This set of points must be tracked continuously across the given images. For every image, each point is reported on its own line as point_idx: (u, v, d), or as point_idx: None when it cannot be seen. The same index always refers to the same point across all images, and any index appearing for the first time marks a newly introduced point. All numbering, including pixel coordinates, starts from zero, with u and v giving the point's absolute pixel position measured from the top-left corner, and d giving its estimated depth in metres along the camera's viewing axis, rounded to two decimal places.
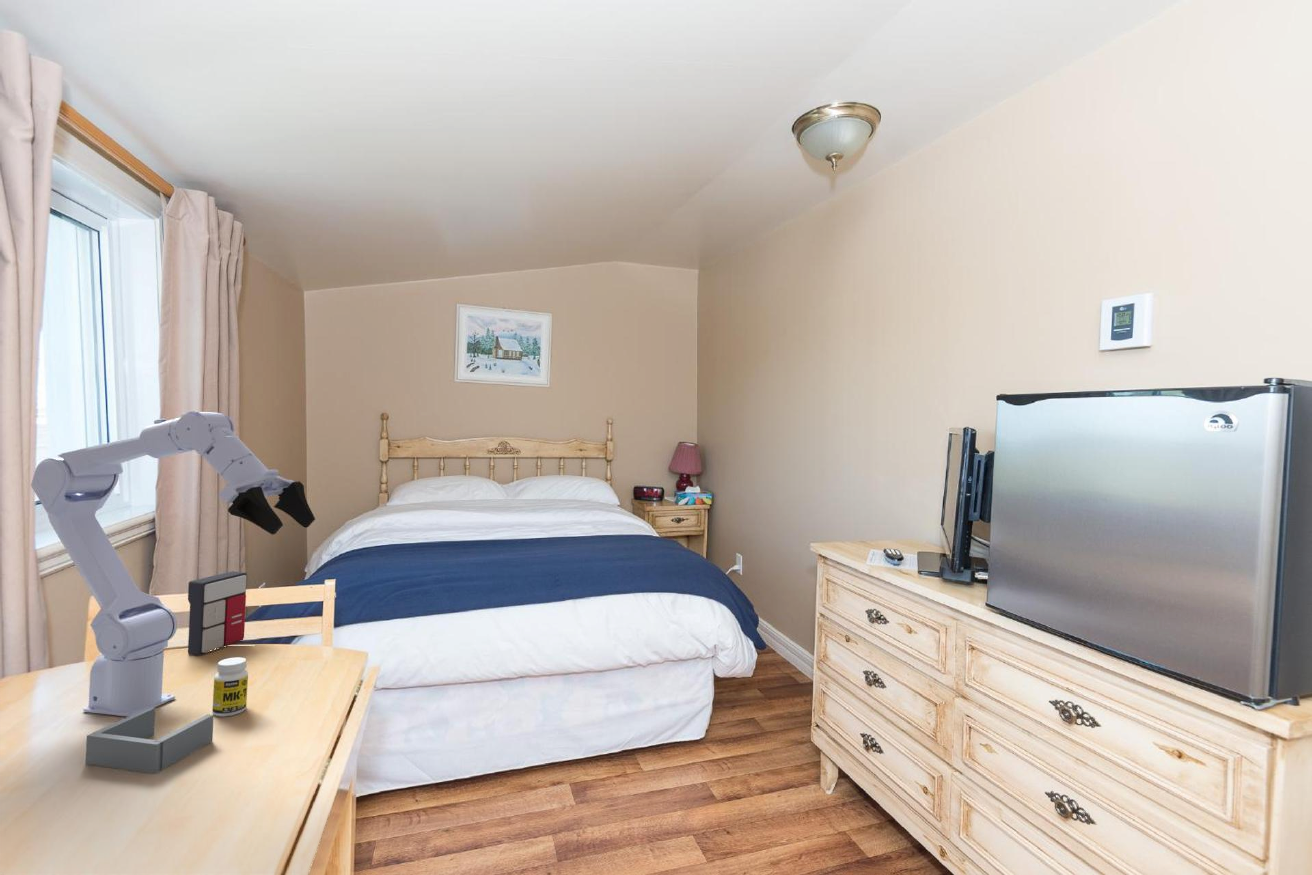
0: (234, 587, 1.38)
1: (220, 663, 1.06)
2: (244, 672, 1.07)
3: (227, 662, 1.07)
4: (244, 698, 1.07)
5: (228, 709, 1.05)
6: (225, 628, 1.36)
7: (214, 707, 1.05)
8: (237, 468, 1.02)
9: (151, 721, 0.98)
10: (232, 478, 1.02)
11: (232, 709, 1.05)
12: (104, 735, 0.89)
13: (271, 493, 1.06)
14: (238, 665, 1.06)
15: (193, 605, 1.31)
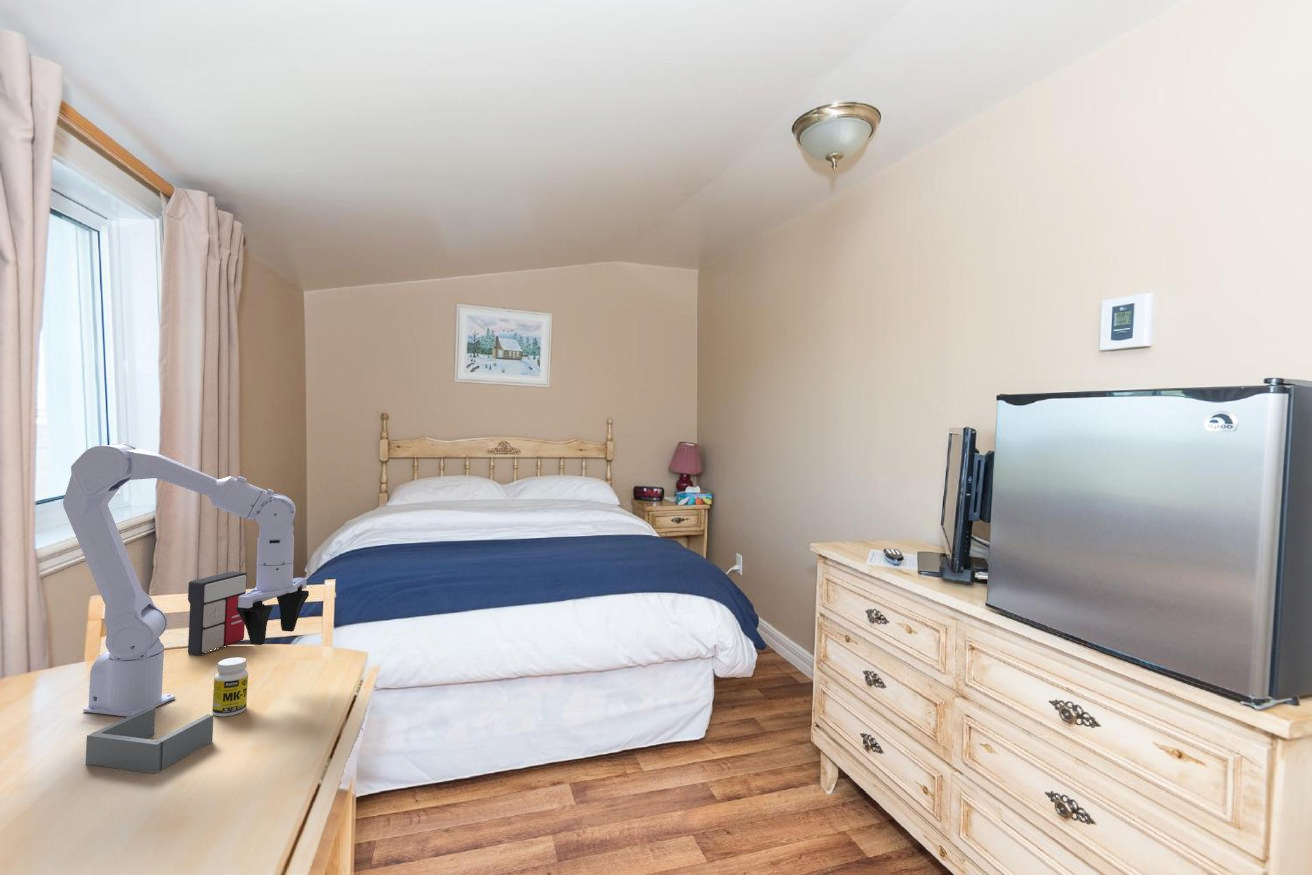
0: (234, 587, 1.38)
1: (220, 663, 1.06)
2: (244, 672, 1.07)
3: (227, 662, 1.07)
4: (244, 698, 1.07)
5: (228, 709, 1.05)
6: (225, 628, 1.36)
7: (214, 707, 1.05)
8: (270, 572, 1.13)
9: (151, 721, 0.98)
10: (261, 575, 1.13)
11: (232, 709, 1.05)
12: (104, 735, 0.89)
13: (280, 595, 1.17)
14: (238, 665, 1.06)
15: (193, 605, 1.31)
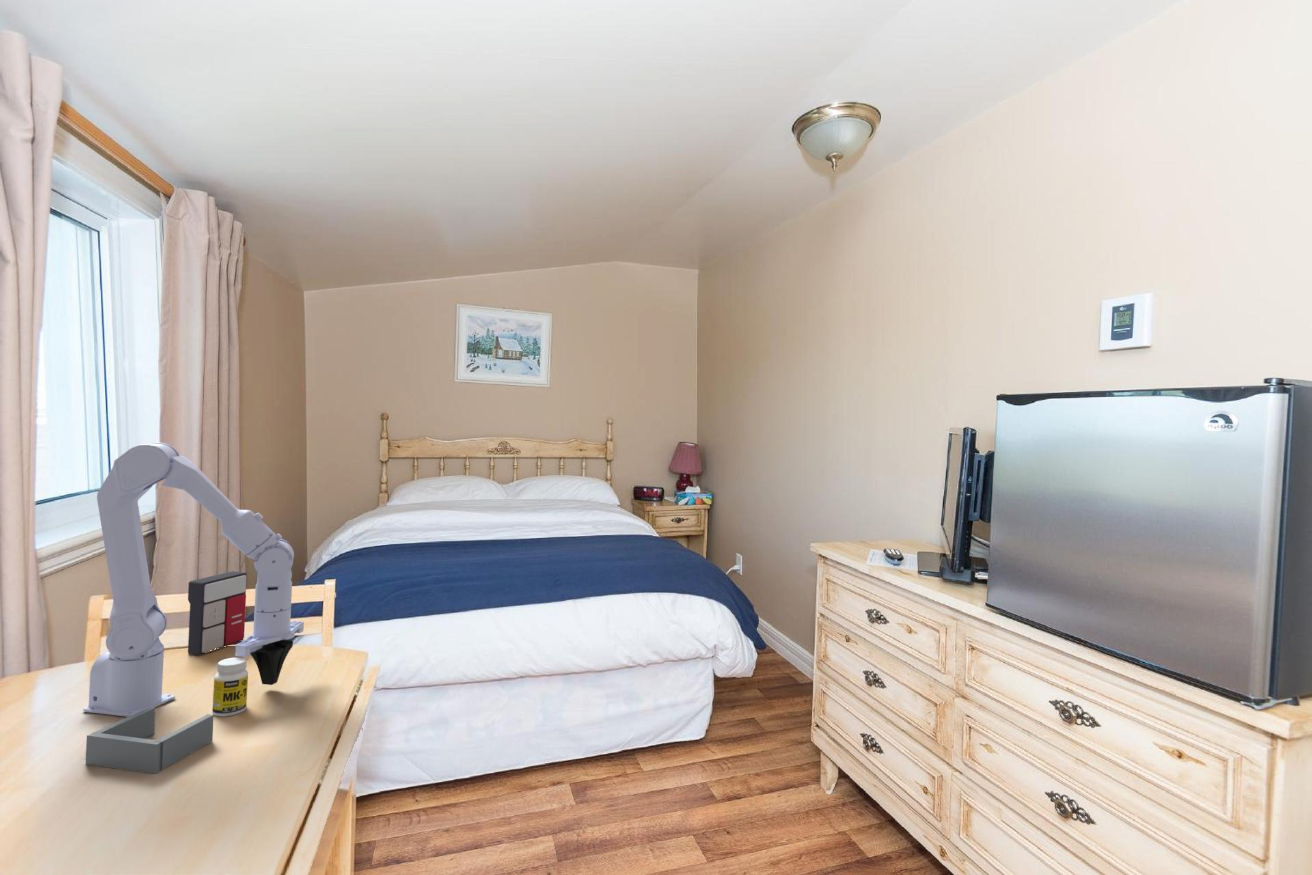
0: (234, 587, 1.38)
1: (220, 663, 1.06)
2: (244, 672, 1.07)
3: (227, 662, 1.07)
4: (244, 698, 1.07)
5: (228, 709, 1.05)
6: (225, 628, 1.36)
7: (214, 707, 1.05)
8: (268, 619, 1.13)
9: (151, 721, 0.98)
10: (258, 622, 1.13)
11: (232, 709, 1.05)
12: (104, 735, 0.89)
13: None
14: (238, 665, 1.06)
15: (193, 605, 1.31)
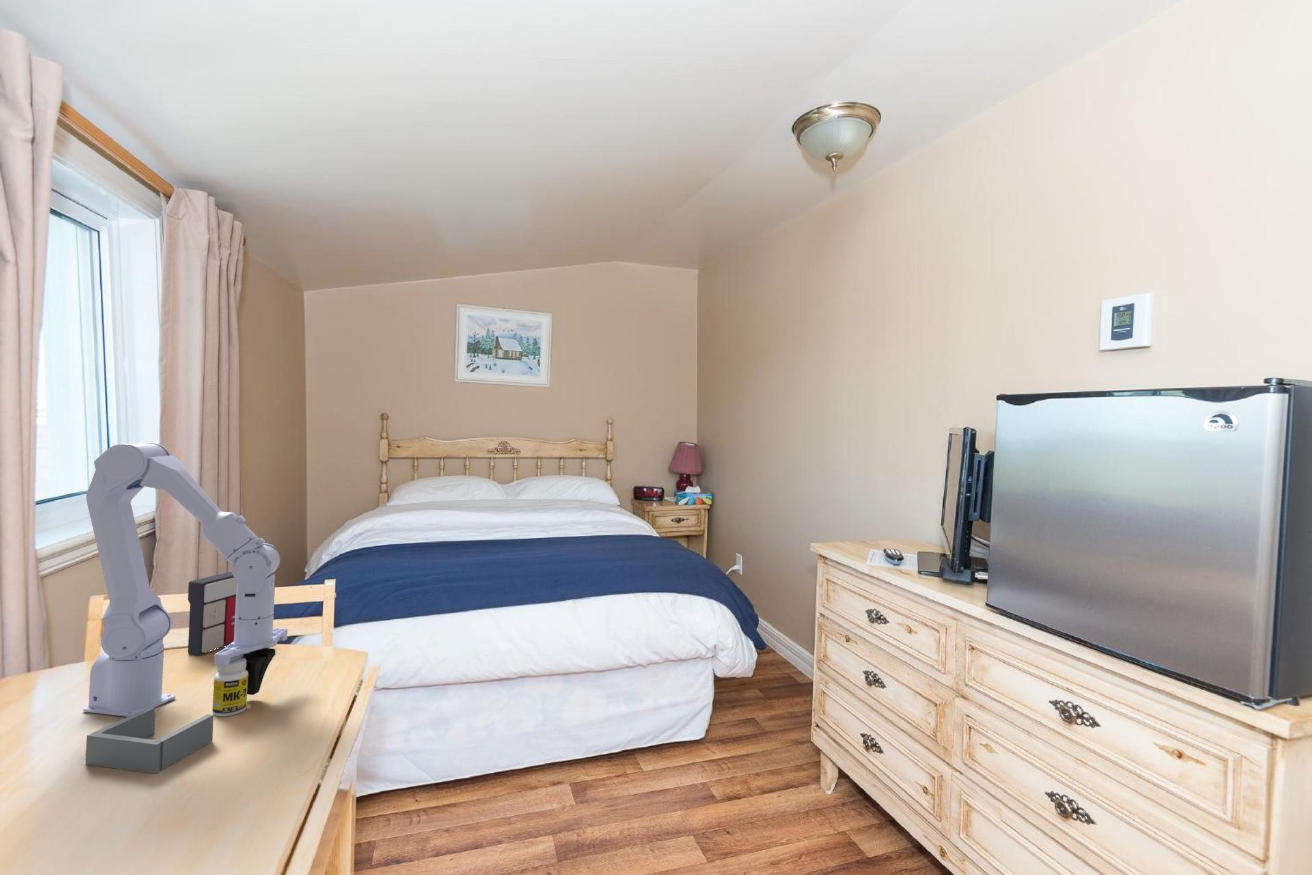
0: (234, 587, 1.38)
1: None
2: (244, 672, 1.07)
3: None
4: (244, 698, 1.07)
5: (228, 709, 1.05)
6: (225, 628, 1.36)
7: (214, 707, 1.05)
8: (249, 627, 1.09)
9: (151, 721, 0.98)
10: (239, 630, 1.09)
11: (232, 709, 1.05)
12: (104, 735, 0.89)
13: (259, 648, 1.13)
14: (238, 665, 1.06)
15: (193, 605, 1.31)
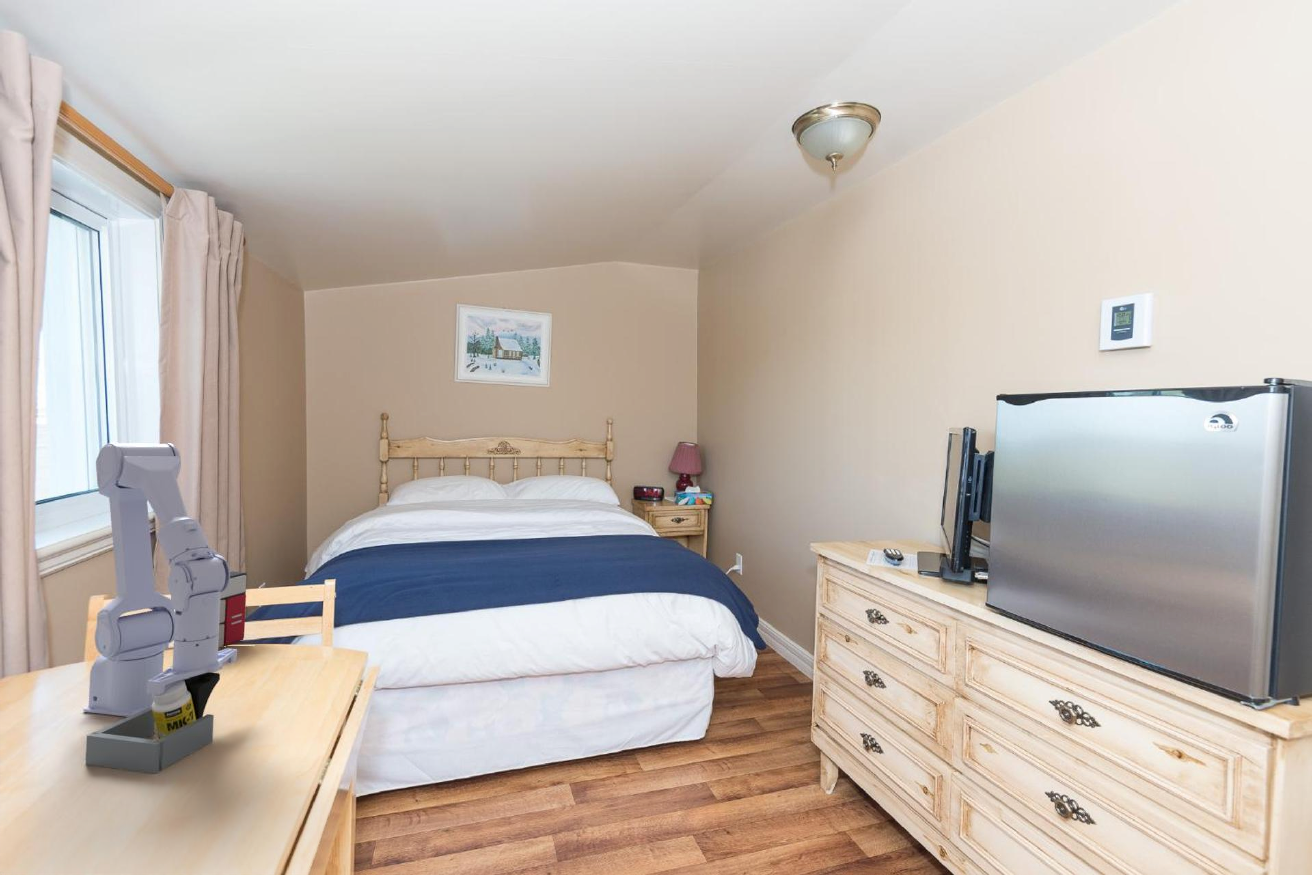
0: (234, 587, 1.38)
1: None
2: (185, 696, 0.96)
3: None
4: (192, 721, 0.97)
5: None
6: (225, 628, 1.36)
7: (159, 736, 0.95)
8: (189, 649, 0.97)
9: (151, 721, 0.98)
10: (178, 653, 0.97)
11: None
12: (104, 735, 0.89)
13: None
14: (176, 693, 0.94)
15: None
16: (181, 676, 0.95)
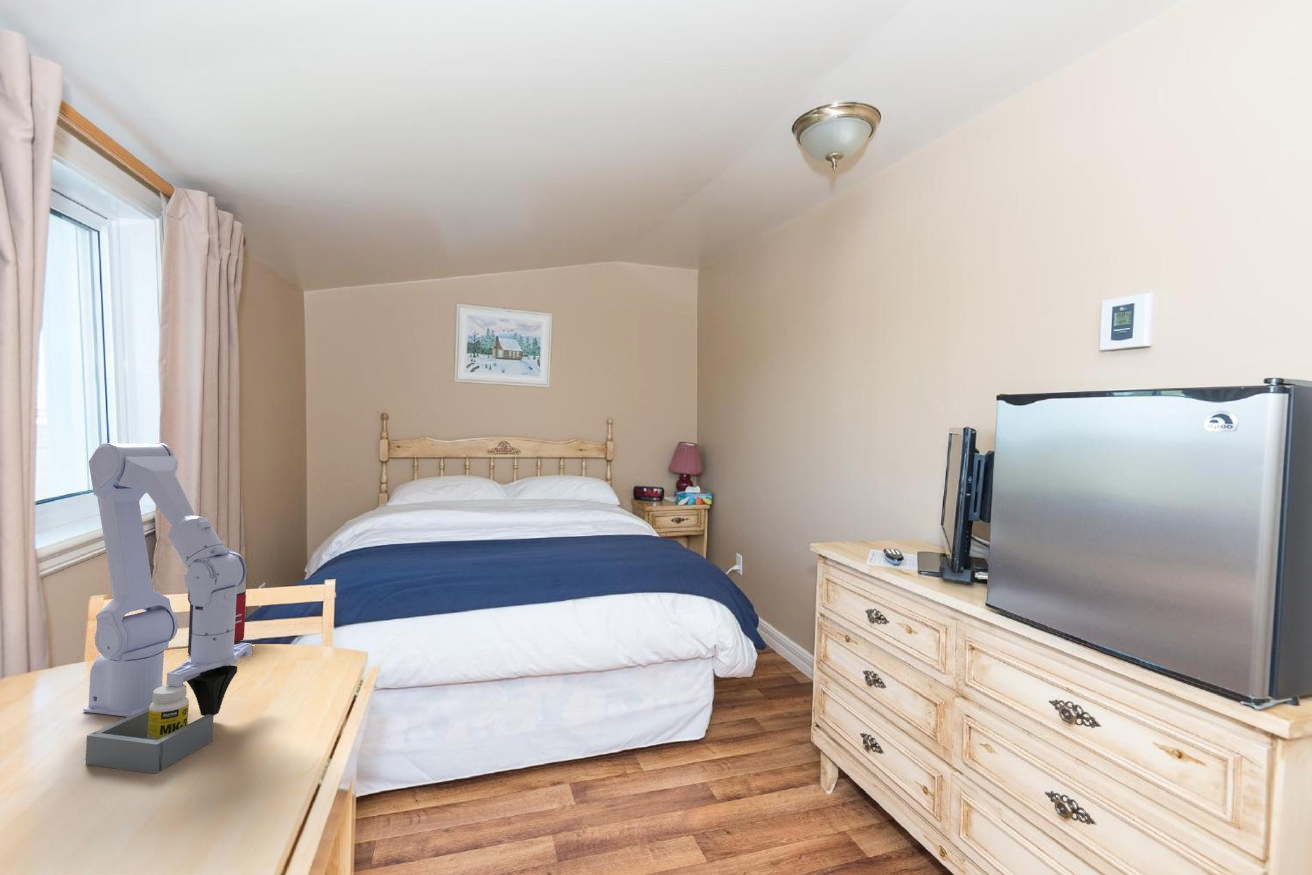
0: None
1: (156, 691, 0.94)
2: (184, 700, 0.96)
3: (164, 689, 0.95)
4: None
5: None
6: None
7: None
8: (206, 643, 1.00)
9: None
10: (196, 646, 1.00)
11: None
12: (104, 735, 0.89)
13: None
14: (178, 693, 0.94)
15: None
16: (199, 669, 0.99)
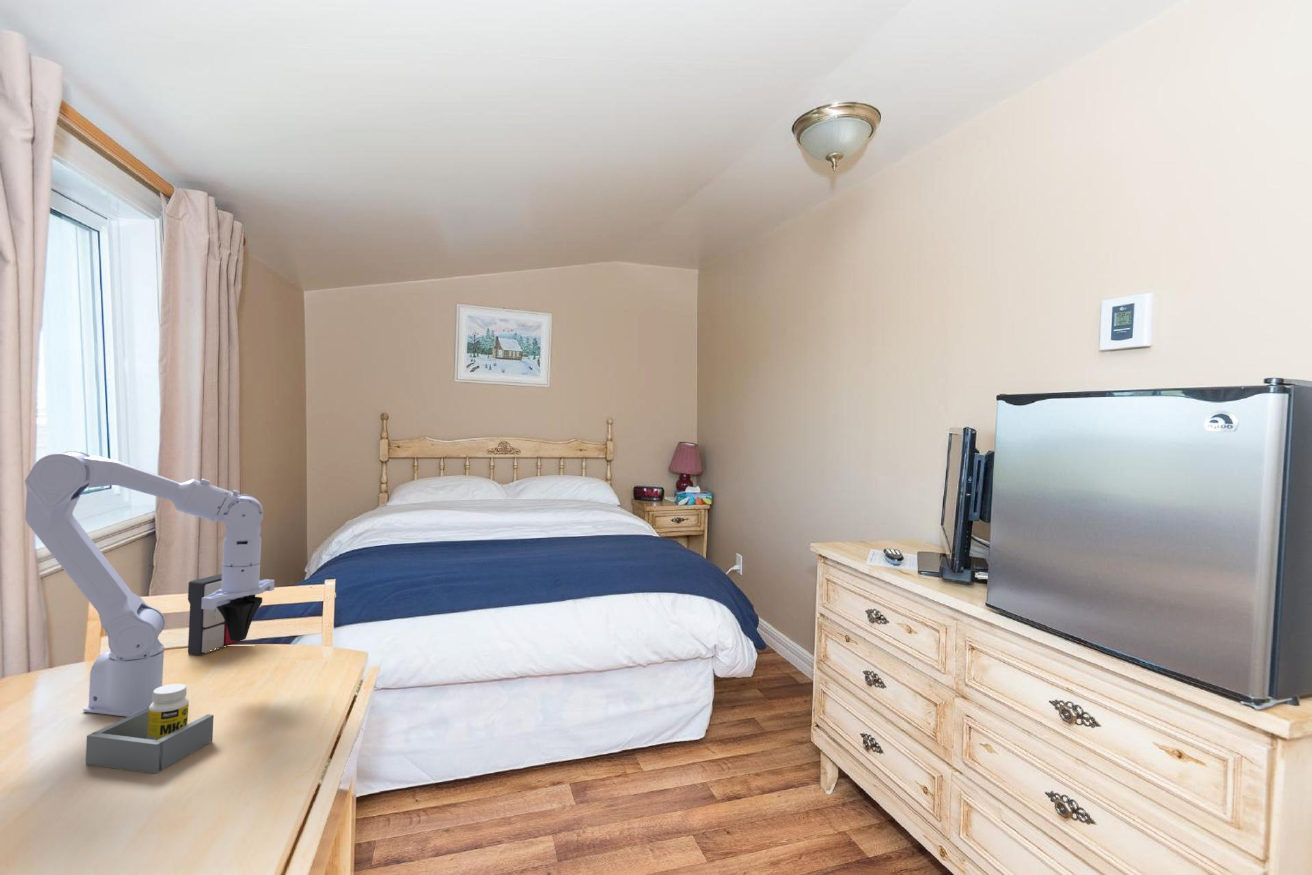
0: None
1: (156, 691, 0.94)
2: (184, 700, 0.96)
3: (164, 689, 0.95)
4: None
5: None
6: (225, 628, 1.36)
7: None
8: (236, 574, 1.12)
9: None
10: (226, 577, 1.12)
11: None
12: (104, 735, 0.89)
13: None
14: (178, 693, 0.94)
15: (193, 605, 1.31)
16: (229, 596, 1.10)
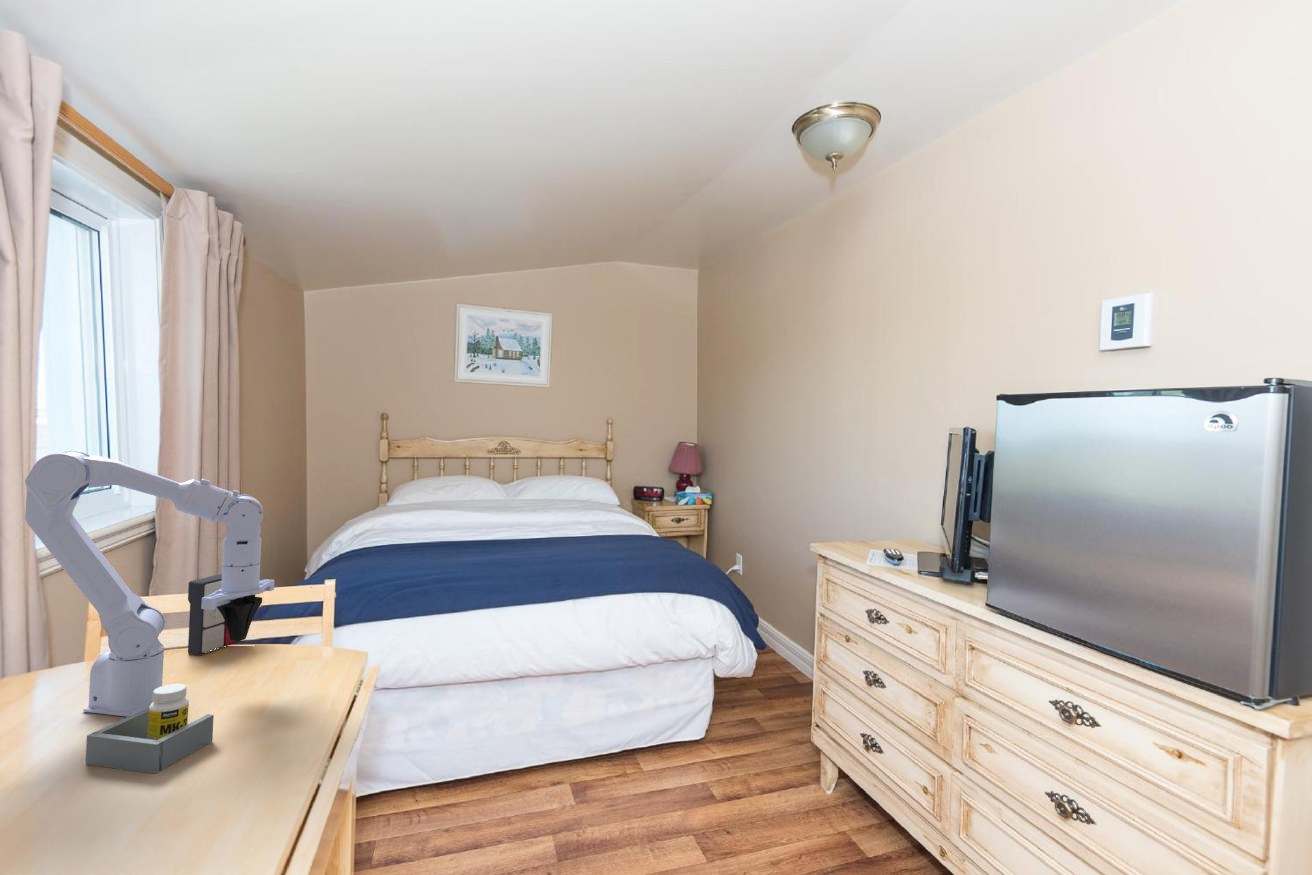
0: None
1: (156, 691, 0.94)
2: (184, 700, 0.96)
3: (164, 689, 0.95)
4: None
5: None
6: (225, 628, 1.36)
7: None
8: (236, 574, 1.12)
9: None
10: (226, 577, 1.12)
11: None
12: (104, 735, 0.89)
13: None
14: (178, 693, 0.94)
15: (193, 605, 1.31)
16: (229, 596, 1.10)
